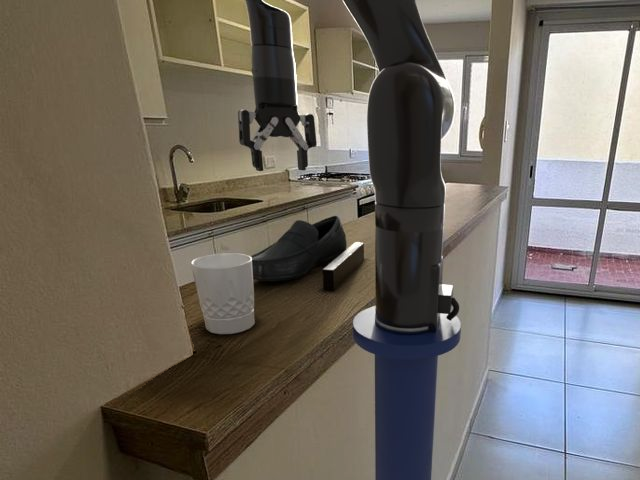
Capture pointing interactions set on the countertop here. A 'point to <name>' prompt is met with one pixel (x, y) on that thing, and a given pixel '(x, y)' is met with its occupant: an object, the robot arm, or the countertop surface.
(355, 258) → the shoe rail
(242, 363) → the countertop surface
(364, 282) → the countertop surface
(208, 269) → the white cup
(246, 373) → the countertop surface
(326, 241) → the loafer
